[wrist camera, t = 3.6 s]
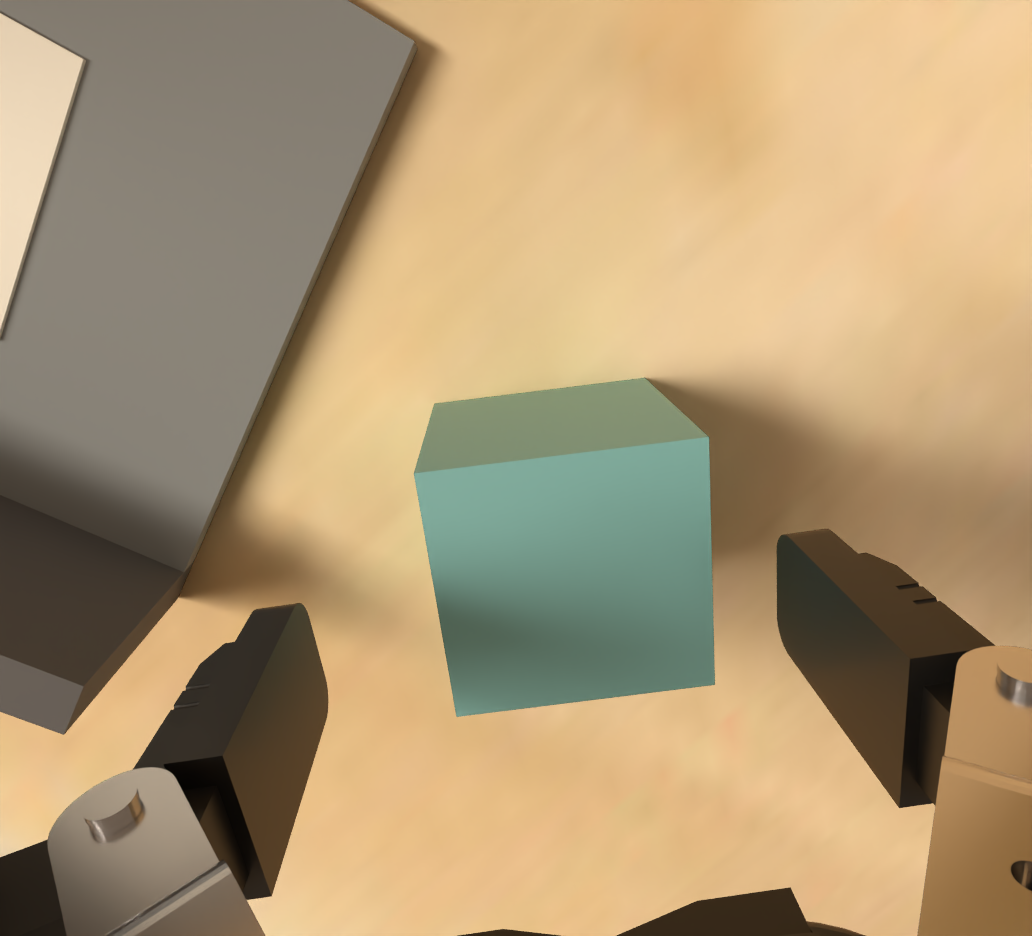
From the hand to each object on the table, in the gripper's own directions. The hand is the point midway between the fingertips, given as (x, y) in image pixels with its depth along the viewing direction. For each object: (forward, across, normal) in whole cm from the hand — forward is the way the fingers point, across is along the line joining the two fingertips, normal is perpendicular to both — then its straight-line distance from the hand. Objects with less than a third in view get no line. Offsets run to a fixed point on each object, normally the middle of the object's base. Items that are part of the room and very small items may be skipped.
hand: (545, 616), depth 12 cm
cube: (+6, -1, 0) cm, 6 cm away
